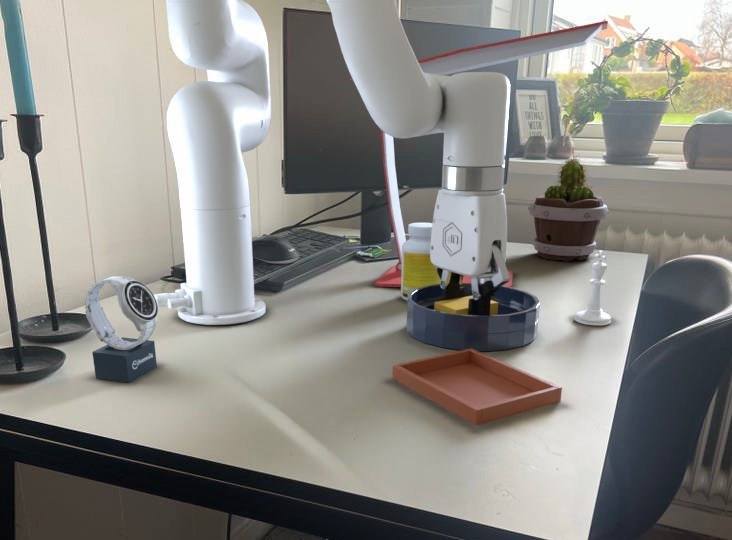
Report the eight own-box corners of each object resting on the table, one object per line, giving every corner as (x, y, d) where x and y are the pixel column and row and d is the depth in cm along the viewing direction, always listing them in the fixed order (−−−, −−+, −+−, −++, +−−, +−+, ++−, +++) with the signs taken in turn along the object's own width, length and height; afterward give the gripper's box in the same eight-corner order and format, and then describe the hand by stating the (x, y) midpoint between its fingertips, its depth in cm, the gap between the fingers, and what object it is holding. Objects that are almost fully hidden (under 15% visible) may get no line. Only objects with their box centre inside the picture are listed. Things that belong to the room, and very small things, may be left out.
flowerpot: (597, 267, 133) (611, 156, 126) (516, 259, 139) (525, 154, 132) (607, 253, 145) (620, 152, 139) (532, 247, 152) (541, 149, 145)
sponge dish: (475, 429, 67) (477, 410, 66) (391, 381, 78) (392, 364, 78) (560, 405, 72) (562, 387, 72) (470, 363, 84) (471, 348, 83)
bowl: (461, 364, 84) (463, 324, 82) (382, 327, 97) (382, 292, 96) (563, 341, 92) (567, 304, 90) (477, 310, 105) (479, 277, 104)
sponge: (454, 340, 90) (456, 310, 89) (433, 331, 94) (434, 301, 92) (496, 331, 94) (498, 302, 92) (474, 323, 97) (475, 294, 96)
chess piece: (592, 327, 97) (601, 255, 94) (567, 318, 101) (574, 249, 98) (618, 322, 99) (628, 252, 96) (592, 314, 104) (600, 246, 100)
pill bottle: (439, 305, 108) (443, 229, 104) (397, 303, 109) (399, 227, 105) (443, 294, 114) (446, 222, 110) (403, 292, 115) (405, 220, 111)
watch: (144, 385, 77) (133, 287, 74) (82, 376, 80) (69, 281, 76) (171, 367, 82) (163, 275, 79) (113, 360, 85) (102, 270, 81)
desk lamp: (575, 303, 109) (608, 17, 95) (339, 284, 120) (338, 25, 106) (578, 278, 125) (606, 29, 111) (369, 263, 136) (372, 35, 122)
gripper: (408, 176, 92) (404, 311, 98) (496, 188, 78) (486, 344, 85) (453, 173, 96) (447, 304, 102) (545, 184, 82) (532, 334, 88)
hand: (465, 321), depth 93 cm, fingers closed on sponge, 4 cm apart
